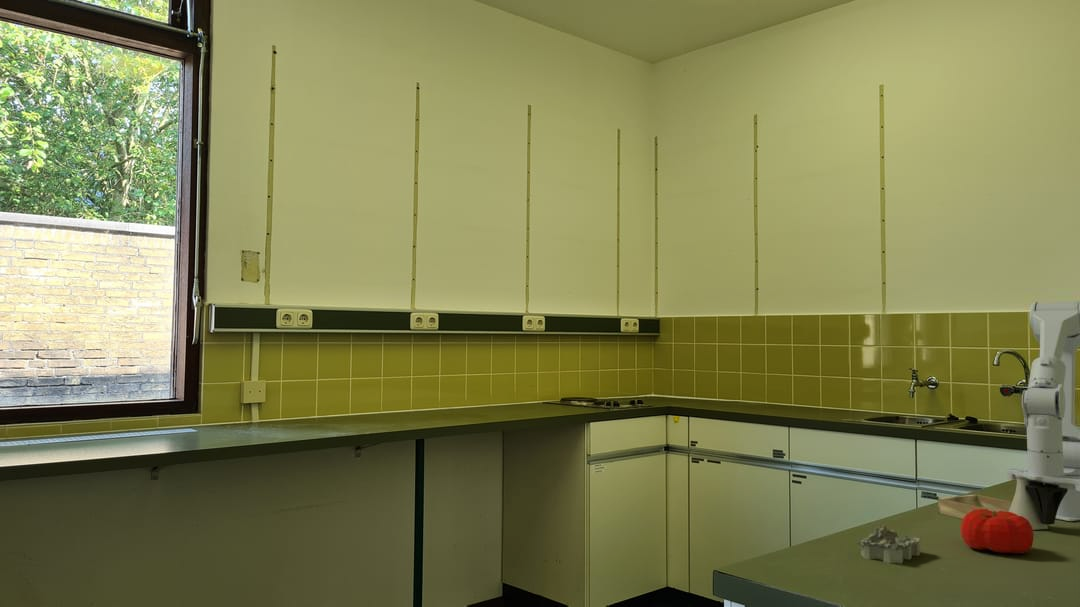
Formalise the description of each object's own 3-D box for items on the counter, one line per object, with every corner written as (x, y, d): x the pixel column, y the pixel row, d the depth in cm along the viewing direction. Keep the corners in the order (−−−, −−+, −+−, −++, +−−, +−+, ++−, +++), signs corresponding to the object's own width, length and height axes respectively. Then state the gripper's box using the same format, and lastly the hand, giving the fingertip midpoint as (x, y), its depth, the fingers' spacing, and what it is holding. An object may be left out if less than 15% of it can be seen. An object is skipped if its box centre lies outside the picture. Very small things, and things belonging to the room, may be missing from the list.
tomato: (960, 540, 145) (959, 504, 145) (1031, 547, 140) (1029, 509, 140) (962, 553, 136) (960, 514, 136) (1037, 561, 131) (1036, 521, 131)
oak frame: (976, 508, 172) (975, 494, 172) (1025, 519, 161) (1024, 504, 162) (937, 513, 167) (937, 498, 168) (985, 524, 157) (985, 508, 157)
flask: (1035, 522, 159) (1033, 471, 159) (1056, 531, 151) (1054, 478, 152) (997, 522, 159) (995, 471, 160) (1016, 530, 152) (1014, 477, 152)
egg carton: (884, 547, 141) (884, 524, 142) (927, 556, 136) (927, 531, 136) (852, 557, 135) (852, 532, 135) (896, 567, 129) (896, 541, 129)
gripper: (995, 447, 157) (997, 517, 157) (1068, 457, 144) (1071, 534, 143) (1020, 445, 160) (1022, 514, 159) (1094, 455, 147) (1097, 530, 146)
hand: (1047, 523), depth 151 cm, fingers closed
